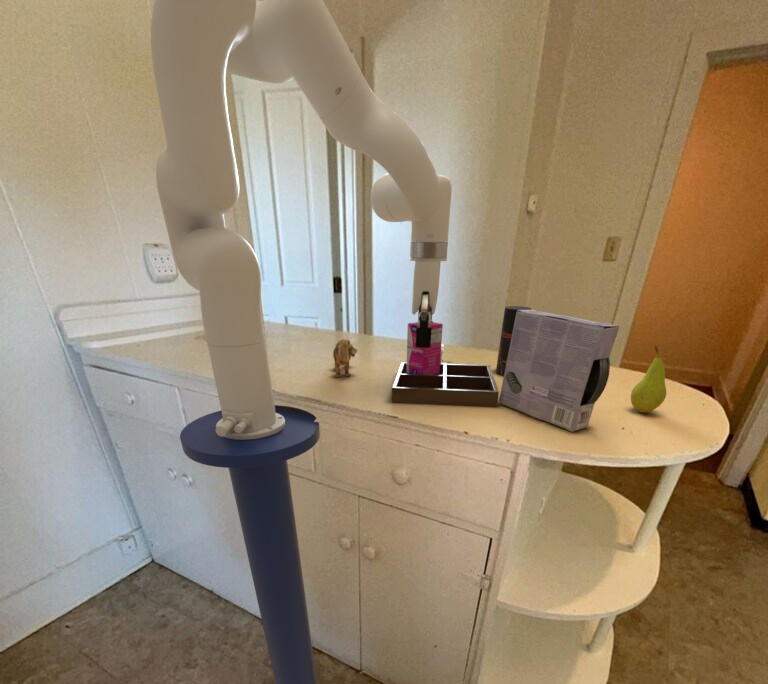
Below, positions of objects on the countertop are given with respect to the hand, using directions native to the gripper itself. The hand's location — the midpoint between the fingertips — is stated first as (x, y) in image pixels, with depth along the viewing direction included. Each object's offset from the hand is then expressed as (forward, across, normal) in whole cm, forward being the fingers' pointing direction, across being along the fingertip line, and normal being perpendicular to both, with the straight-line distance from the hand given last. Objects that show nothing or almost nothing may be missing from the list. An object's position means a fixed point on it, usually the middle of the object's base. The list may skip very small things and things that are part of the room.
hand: (423, 342), depth 96 cm
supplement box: (+8, 0, 0) cm, 8 cm away
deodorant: (+9, -11, +21) cm, 25 cm away
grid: (+9, +5, +5) cm, 11 cm away
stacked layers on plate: (+9, -15, +1) cm, 17 cm away
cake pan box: (+9, +20, +24) cm, 33 cm away
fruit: (+9, +15, +44) cm, 48 cm away
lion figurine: (+9, -5, -20) cm, 22 cm away
